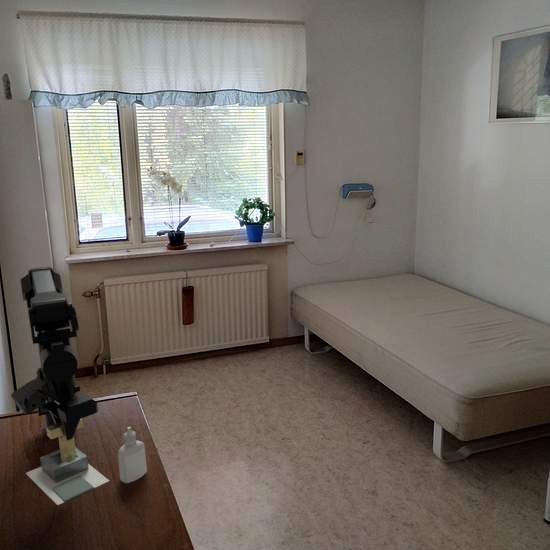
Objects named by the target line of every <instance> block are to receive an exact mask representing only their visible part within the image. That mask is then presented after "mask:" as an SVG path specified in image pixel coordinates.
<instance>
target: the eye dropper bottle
mask: <svg viewBox="0 0 550 550" xmlns="http://www.w3.org/2000/svg"><path fill="white" fill-rule="evenodd" d="M123 442H124V444H122V445H121V447H120V448H119V449H118V452H117V459H118V460H117V461H118V471H119V480H120V481H121V482H122V483H124V484H129V483H131V482H134V481H137V480H139V479H140V478H142V477H143V476H144V475H146V473H148V469H147V468H148V467H147V457H146V449H145V443H144V442H143V441H141V440H138V439H137V432H136V431H135V430H132V427H131V426H128V427H127V429H126V431H125V432H124V433H123Z"/></svg>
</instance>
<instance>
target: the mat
mask: <svg viewBox="0 0 550 550" xmlns="http://www.w3.org/2000/svg"><path fill="white" fill-rule="evenodd" d="M93 488H94V487H93V486H92V485H91V484H90V483H89V482H87V481H86V480H85V479H84V478H83V477H82V476H77V477H75V478H73V479H71V480H68V481H66V482H64V483H62V484H59V485H57V486H55V487H53V488H52V489H53V490H54V491H55V492H56V493H57V494H58V495H59V496H60V497H61V498H62V499H63V500H64V501H66V502H68V501H70V500H72V499H74V498H76V496H77V497H79V496H81V495H83V494H86V493H88V492H90V491H91V490H94V489H95V488H94V489H93ZM82 493H83V494H82ZM80 494H81V495H80ZM78 495H79V496H78Z"/></svg>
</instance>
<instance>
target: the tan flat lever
mask: <svg viewBox="0 0 550 550" xmlns="http://www.w3.org/2000/svg"><path fill="white" fill-rule="evenodd" d="M83 423H84V422H83V418H82V419H80V421H79V424H78V426H77V429H76V431H78V430H79V429H82V428H84V425H83ZM45 428H46V430H47V431H46V435H47V437H48V438H49V439H50V440H53V439H57V438H58V443H59V450H60V453H61V460H62V462H64V463H68V462H72V461H74V460H75V459H76V451H75V447H76V444H75V443H76V442H75V437H74V436H75V435H74V436H73V438H72V439H70V440H67V439H66V436H65V433H64V430H63V426H62V423H61V422H60V423H57V424H54V425H52V426H49V427H46V426H45Z"/></svg>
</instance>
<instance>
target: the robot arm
mask: <svg viewBox="0 0 550 550" xmlns="http://www.w3.org/2000/svg"><path fill="white" fill-rule="evenodd" d="M19 281H20V288H21V294H22V301H23V302H26V306H27V312H28V322H29V327H30V328H29V329H30V333H31V334H30V335H31V340H32V344H33V345H36V344H37V347H38V354H39V362H40V368H37V370H36V378H34V379H32V380H30V381H28V382H27V383H24V384H23V385H22V386H21V387H19V388H18V389H16V390H15V391H13V392H12V393H11V394H10V395H11V396H10V397H11V398H12V400H13V402H14V403H15V404H16V406H17V408H18V409H19V410H21V411H22V412H23V413H24V414H26V415H28V414H31V413H33V412H34V411H35V410H36V411H38V416H39V417H41V416H44V421H45V428H42V429H41V433H45V432H47V430H46V427H49V426H52V425H54V424H57V423H60V422H61V423H62V426H63V430H64V433H65V436H66V439H67V440H70V439H72V438H73V436H75V433H76V431H77V430H78V429H77V426H78V424H79V421H80V419H82V420H83V419H84V418H86V417H90V416H93V415H95V414H97V413H98V412H99V410H98V409H99V408H98V401H96V400H95V399H93V398H91V396H89V395H87V394H85V393H82V394H80V395H77V393H78V392H80V391H81V387H80V385H79V384H77V383H76V379H75V375H76V373H77V372H79V369H78V365H79V364H78V360H77V357H76V354H75V352H74V350H73V347H72V344H71V338H77V337H78V333H77V332H78V331H79V330H80V329H79V328H80V326H79V322H78V316H77V312H76V308H75V307H74V306H73V303H72V302H70V301H69V302H68V300H67V296H66V295H65V294H64V293H63V285H62V277H61V275H60V274H59V273H57V272H55V271H54V268H53V267H51V266H41V267H33V268H30V269H27V274H26V275H24V276H23V277H22V278H20V280H19ZM70 327H71V328H70ZM35 332H36V334H35ZM36 335H37V336H36ZM76 429H77V430H76Z"/></svg>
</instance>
